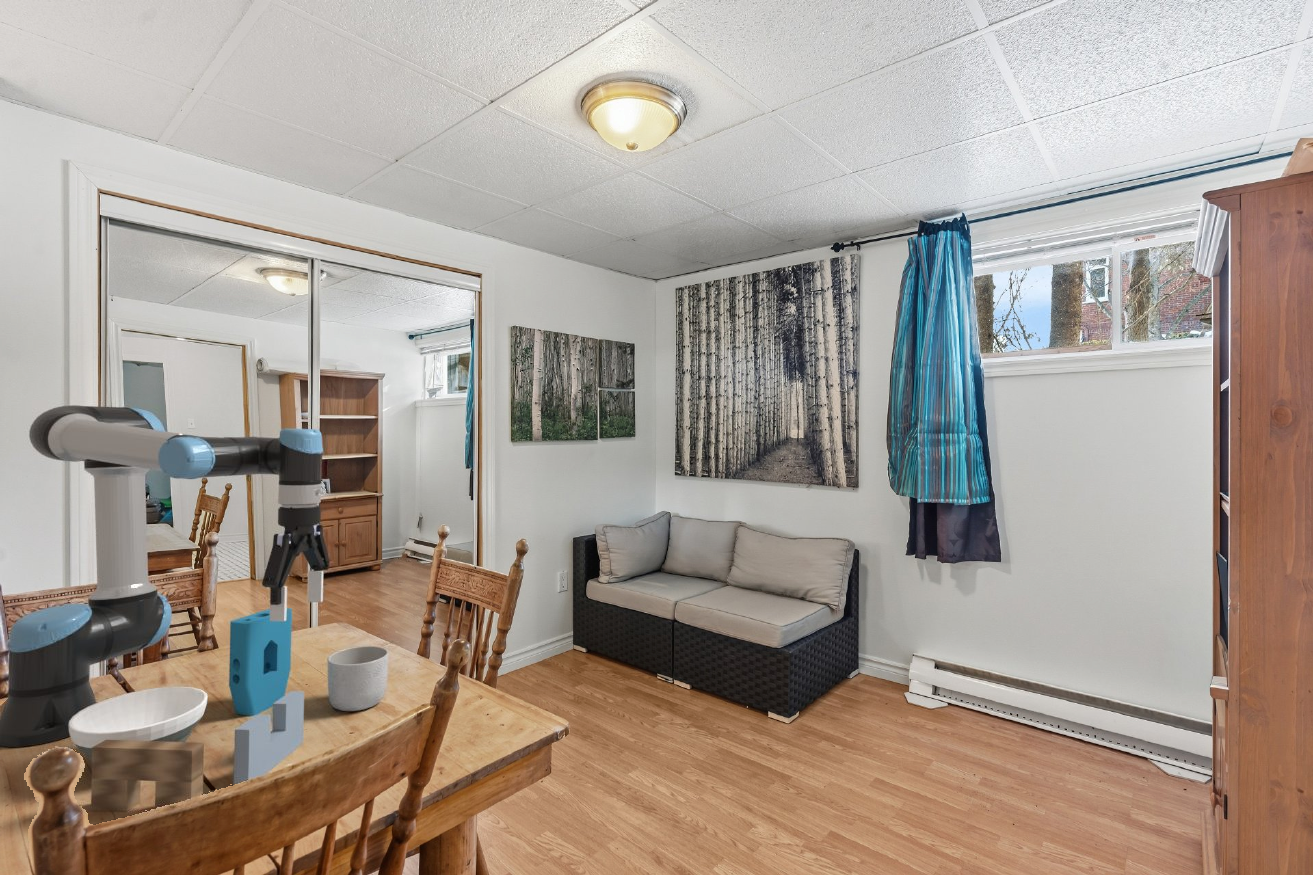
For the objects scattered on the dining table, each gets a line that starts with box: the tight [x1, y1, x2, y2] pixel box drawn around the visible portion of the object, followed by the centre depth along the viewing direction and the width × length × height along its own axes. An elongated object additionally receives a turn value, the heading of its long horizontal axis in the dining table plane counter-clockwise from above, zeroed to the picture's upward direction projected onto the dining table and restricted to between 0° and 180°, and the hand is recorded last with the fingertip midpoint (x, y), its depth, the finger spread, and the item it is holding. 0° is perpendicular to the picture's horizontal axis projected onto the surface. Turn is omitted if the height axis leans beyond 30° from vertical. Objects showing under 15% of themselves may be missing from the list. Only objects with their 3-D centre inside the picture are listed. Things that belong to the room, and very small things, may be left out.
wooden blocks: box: [90, 740, 205, 813], centre depth 101 cm, size 16×2×10 cm, turn 89°
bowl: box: [69, 686, 209, 762], centre depth 115 cm, size 20×20×10 cm
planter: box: [326, 645, 390, 712], centre depth 140 cm, size 12×12×11 cm
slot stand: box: [233, 690, 305, 785], centre depth 114 cm, size 16×2×10 cm, turn 179°
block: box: [228, 607, 293, 717], centre depth 138 cm, size 12×5×20 cm, turn 165°
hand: (297, 610), depth 127 cm, fingers open, 13 cm apart
